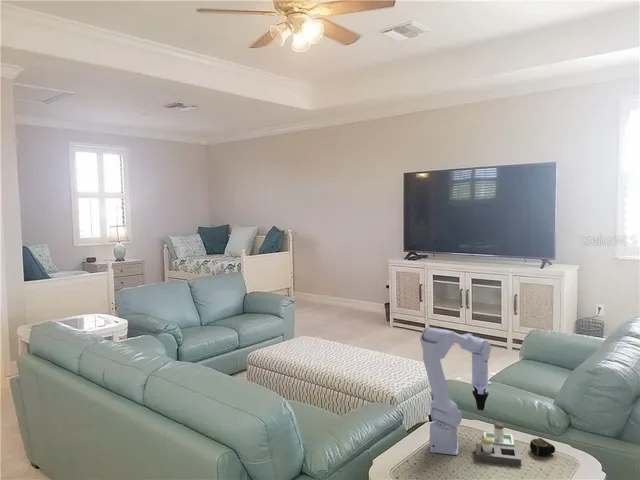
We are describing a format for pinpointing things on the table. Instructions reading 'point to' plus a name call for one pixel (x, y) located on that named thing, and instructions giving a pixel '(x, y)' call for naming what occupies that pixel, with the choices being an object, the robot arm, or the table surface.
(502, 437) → the cylinder
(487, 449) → the cylinder
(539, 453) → the tape measure
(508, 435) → the parts tray
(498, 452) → the socket block
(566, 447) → the table surface
